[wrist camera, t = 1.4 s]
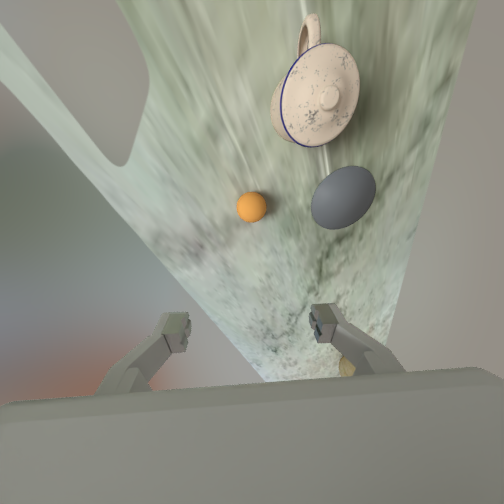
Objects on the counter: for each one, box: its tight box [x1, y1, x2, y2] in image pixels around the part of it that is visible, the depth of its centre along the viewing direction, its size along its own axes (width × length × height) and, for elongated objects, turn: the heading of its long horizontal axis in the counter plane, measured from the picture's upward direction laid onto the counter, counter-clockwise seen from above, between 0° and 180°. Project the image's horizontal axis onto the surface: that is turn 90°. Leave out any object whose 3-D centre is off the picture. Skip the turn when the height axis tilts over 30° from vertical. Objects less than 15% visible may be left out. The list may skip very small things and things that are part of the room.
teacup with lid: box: [271, 13, 360, 147], centre depth 22 cm, size 12×9×12 cm
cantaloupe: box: [339, 356, 356, 377], centre depth 70 cm, size 15×15×15 cm
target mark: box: [311, 166, 375, 229], centre depth 36 cm, size 13×13×1 cm
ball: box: [237, 192, 266, 222], centre depth 33 cm, size 6×6×6 cm
